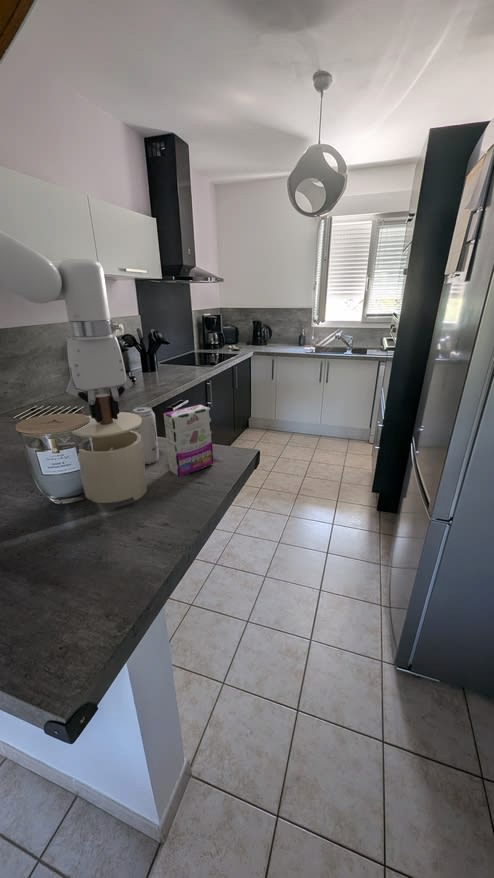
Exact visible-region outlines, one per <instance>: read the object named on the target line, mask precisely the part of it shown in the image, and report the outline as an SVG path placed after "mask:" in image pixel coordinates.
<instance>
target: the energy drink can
mask: <svg viewBox="0 0 494 878" xmlns="http://www.w3.org/2000/svg"><path fill="white" fill-rule="evenodd" d="M132 413H133V414H136V415H139V416H140V417H141V418H142V423H141V425H140V426H139V427H137V428H135V429H133V430H132V431H135V432H138V433H139V434H140V435H141V437H142V446H143V454H144V462H145V464H149V465H151V464H150V463H153V462H155V461H157V462H158V460H159V458H160V453H159V452H160V451H159V441H158V432H157V421H156V414H155V412H154V411H153V408H152V407H150V406H139V407H135V408H134V409H132ZM155 463H156V462H155ZM153 464H154V463H153Z"/></svg>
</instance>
